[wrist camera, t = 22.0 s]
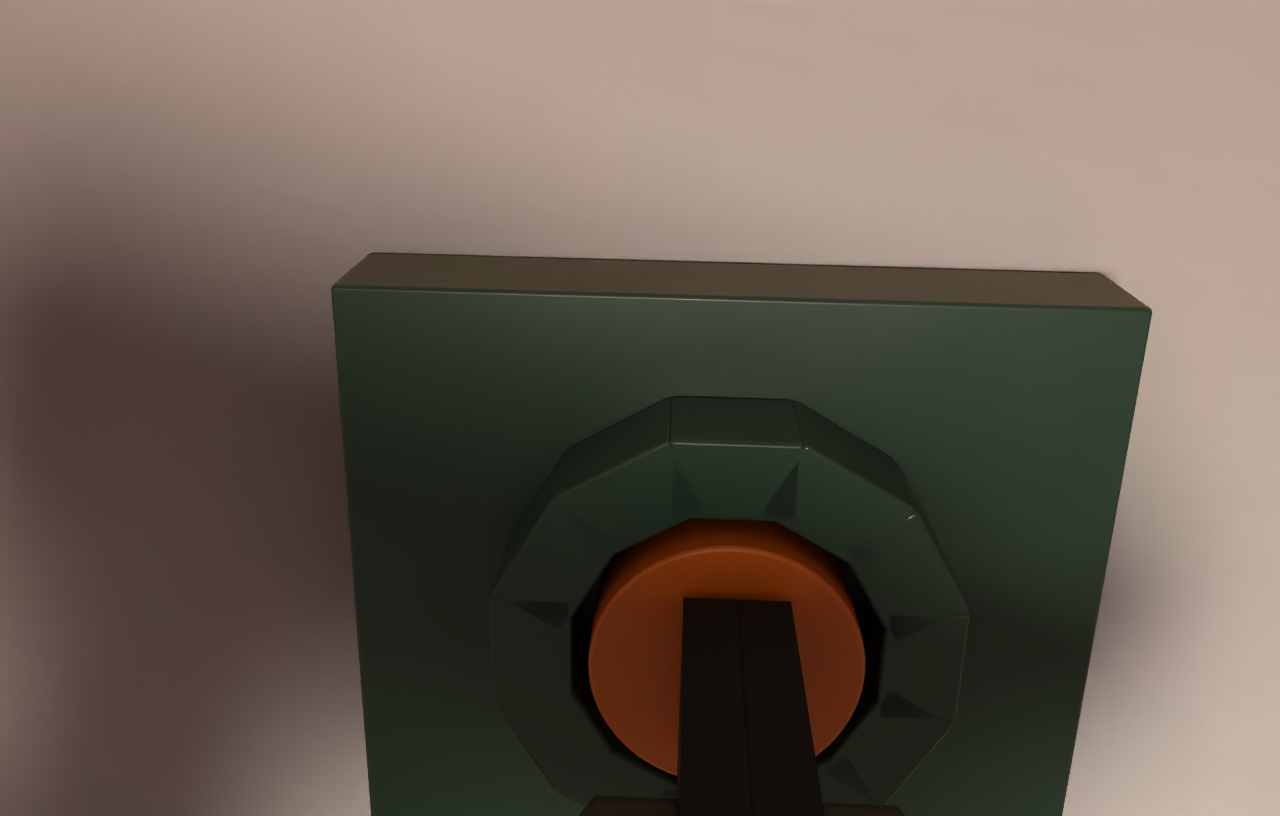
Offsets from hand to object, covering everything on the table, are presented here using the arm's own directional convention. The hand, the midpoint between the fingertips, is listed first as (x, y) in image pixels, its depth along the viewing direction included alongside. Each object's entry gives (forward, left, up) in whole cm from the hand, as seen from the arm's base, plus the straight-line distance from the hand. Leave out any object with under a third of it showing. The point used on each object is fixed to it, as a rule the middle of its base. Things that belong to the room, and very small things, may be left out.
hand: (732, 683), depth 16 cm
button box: (0, 0, -5) cm, 5 cm away
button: (0, 0, -2) cm, 2 cm away
